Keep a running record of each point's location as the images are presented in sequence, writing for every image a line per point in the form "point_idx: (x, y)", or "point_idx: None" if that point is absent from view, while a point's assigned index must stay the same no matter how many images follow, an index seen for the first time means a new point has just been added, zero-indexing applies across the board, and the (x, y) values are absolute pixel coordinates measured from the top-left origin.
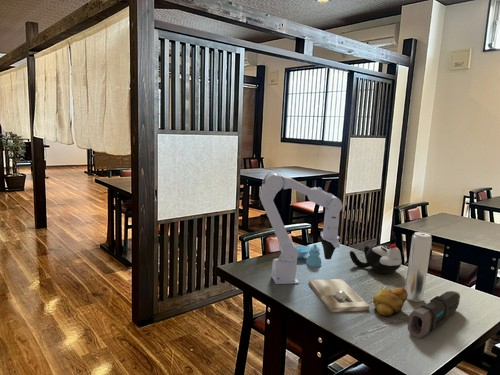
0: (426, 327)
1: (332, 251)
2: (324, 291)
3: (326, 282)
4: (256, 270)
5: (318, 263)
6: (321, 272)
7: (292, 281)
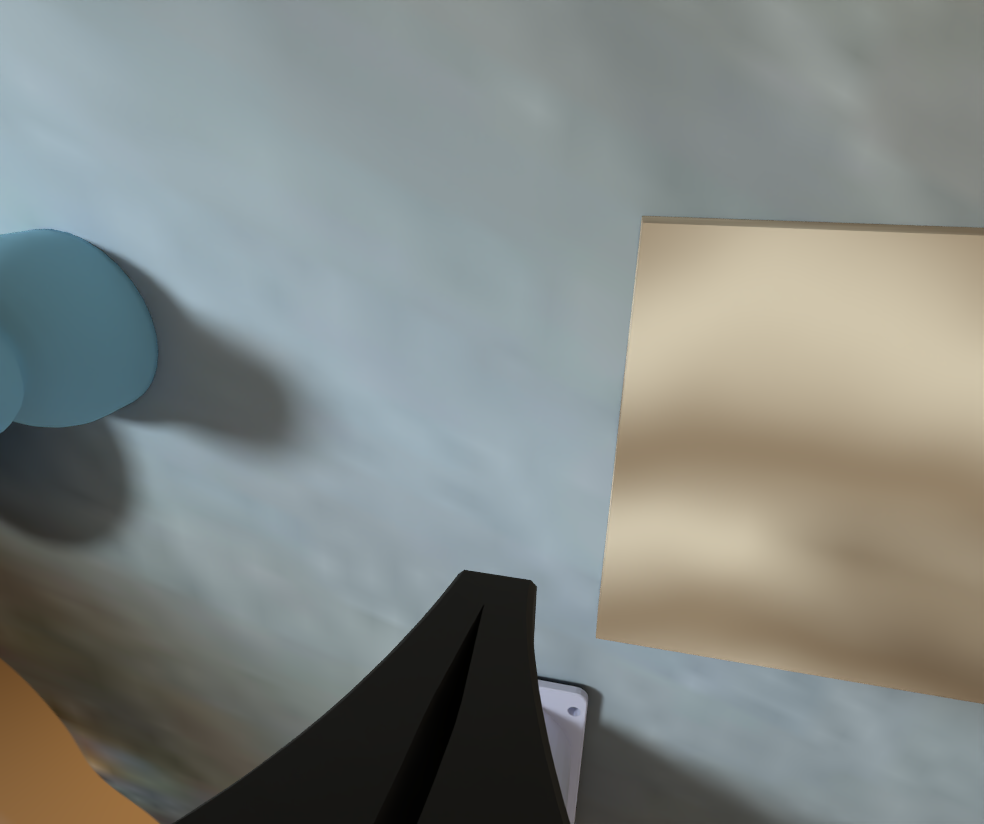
0: None
1: (532, 773)
2: (940, 635)
3: (704, 496)
4: None
5: (111, 313)
6: (315, 344)
7: (565, 739)
